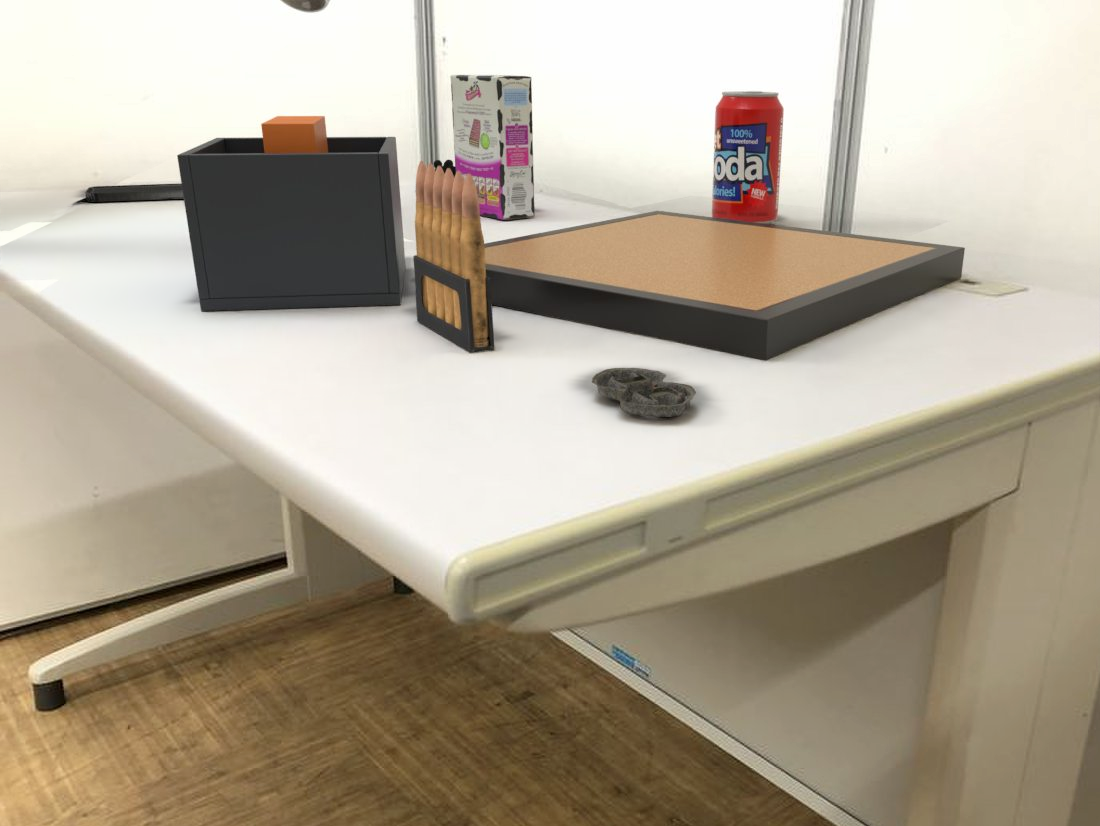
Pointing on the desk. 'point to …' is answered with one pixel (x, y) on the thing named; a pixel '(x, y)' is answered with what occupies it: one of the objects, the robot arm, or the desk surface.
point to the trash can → (294, 224)
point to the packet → (295, 134)
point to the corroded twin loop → (644, 391)
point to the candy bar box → (495, 141)
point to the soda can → (747, 156)
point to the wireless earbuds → (445, 166)
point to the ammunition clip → (451, 260)
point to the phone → (134, 192)
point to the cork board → (713, 278)
